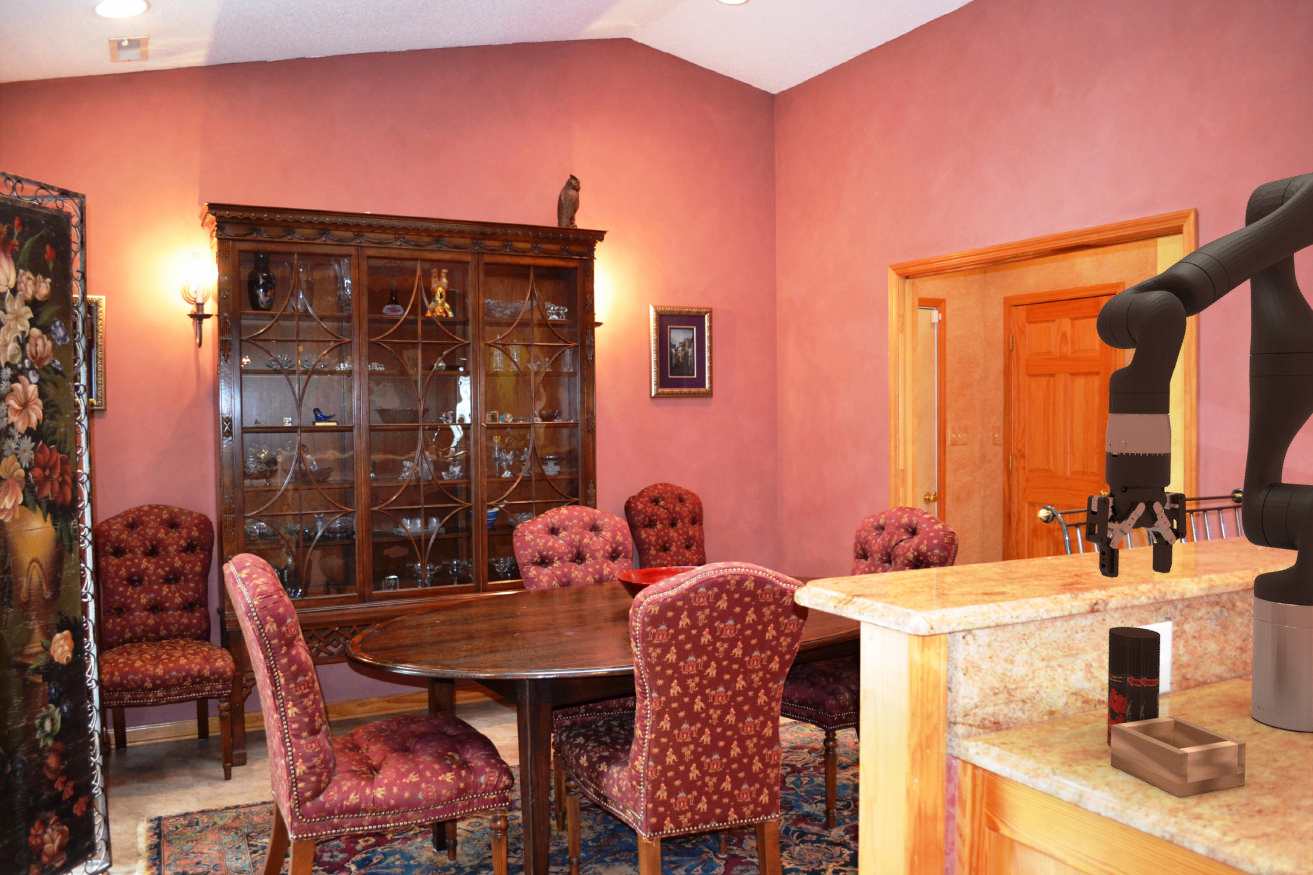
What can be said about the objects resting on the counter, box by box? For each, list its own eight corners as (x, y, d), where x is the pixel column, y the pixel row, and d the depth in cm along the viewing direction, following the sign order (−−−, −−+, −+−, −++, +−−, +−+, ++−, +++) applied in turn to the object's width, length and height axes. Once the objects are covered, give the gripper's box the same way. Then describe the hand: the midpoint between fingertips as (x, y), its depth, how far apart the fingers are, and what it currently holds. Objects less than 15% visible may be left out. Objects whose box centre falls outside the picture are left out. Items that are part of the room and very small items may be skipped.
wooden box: (1173, 754, 120) (1173, 715, 120) (1244, 784, 110) (1245, 742, 110) (1110, 764, 117) (1111, 724, 116) (1178, 797, 107) (1179, 753, 107)
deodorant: (1164, 756, 119) (1166, 638, 119) (1114, 752, 121) (1116, 636, 120) (1150, 739, 125) (1152, 627, 125) (1102, 736, 126) (1103, 625, 126)
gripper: (1156, 446, 127) (1154, 566, 128) (1071, 448, 122) (1069, 572, 123) (1205, 449, 120) (1202, 576, 121) (1117, 451, 115) (1114, 583, 116)
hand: (1135, 574), depth 122 cm, fingers open, 8 cm apart
